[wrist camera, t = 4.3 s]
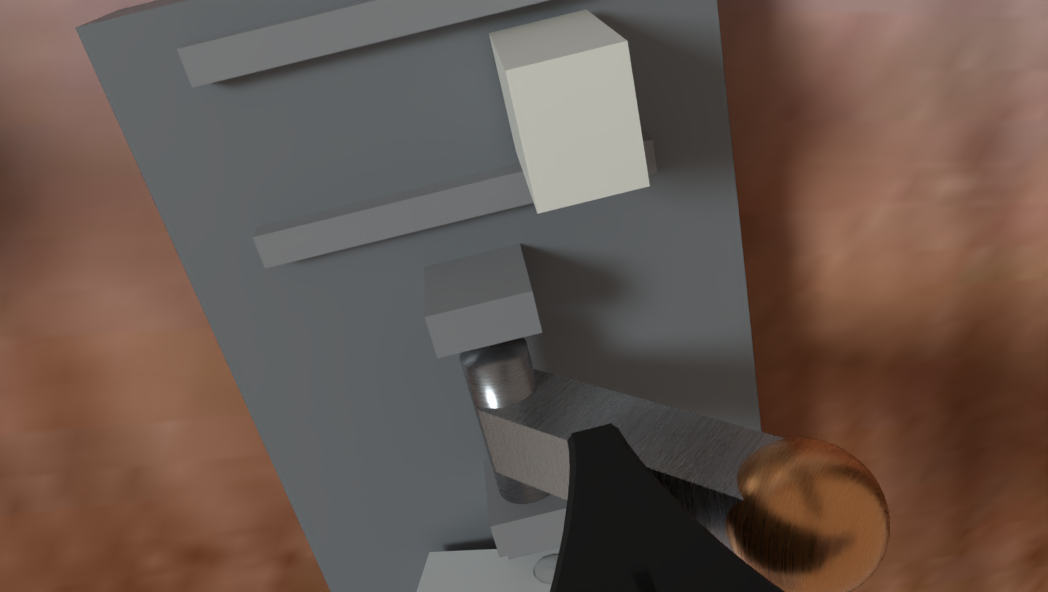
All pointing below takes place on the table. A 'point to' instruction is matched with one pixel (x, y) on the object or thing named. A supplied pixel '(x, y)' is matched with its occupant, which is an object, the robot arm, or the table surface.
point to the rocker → (487, 572)
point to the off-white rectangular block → (571, 109)
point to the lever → (690, 470)
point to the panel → (425, 246)
